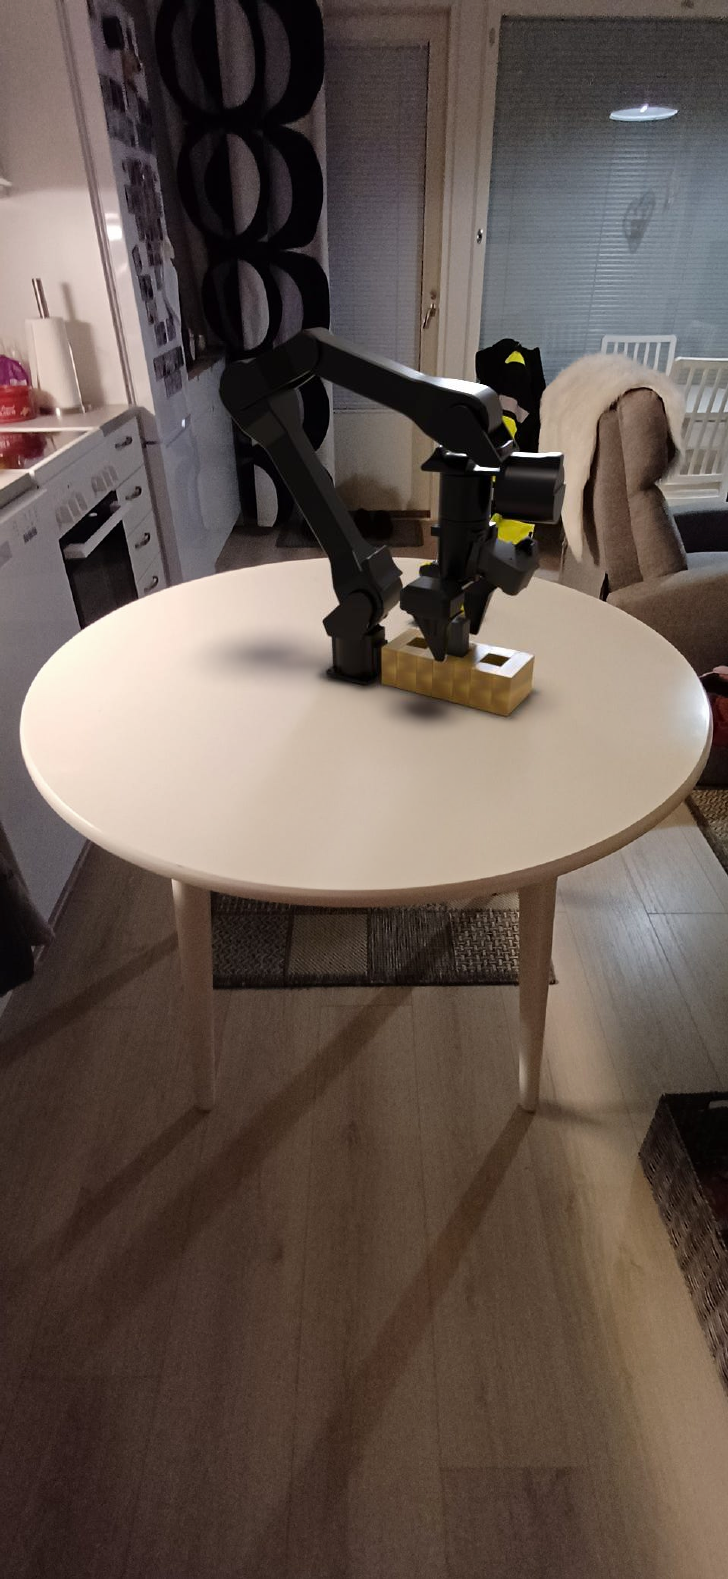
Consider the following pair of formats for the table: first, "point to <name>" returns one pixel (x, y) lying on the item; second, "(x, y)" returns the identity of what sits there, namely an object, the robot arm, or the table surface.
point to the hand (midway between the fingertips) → (457, 647)
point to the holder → (459, 673)
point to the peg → (459, 637)
